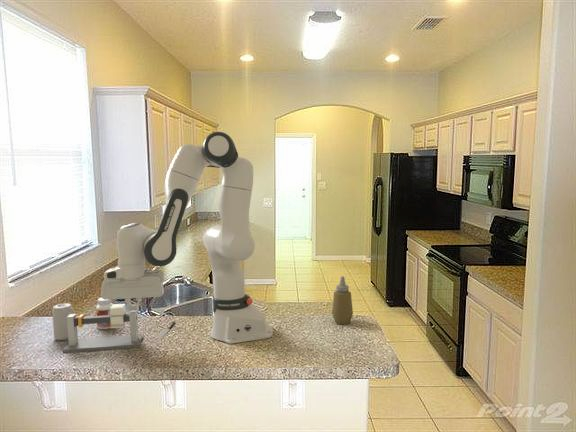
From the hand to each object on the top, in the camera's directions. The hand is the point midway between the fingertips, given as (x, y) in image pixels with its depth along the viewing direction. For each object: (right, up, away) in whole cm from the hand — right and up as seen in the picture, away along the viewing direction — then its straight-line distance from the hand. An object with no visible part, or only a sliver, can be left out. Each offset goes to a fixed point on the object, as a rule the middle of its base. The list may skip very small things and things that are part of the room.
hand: (133, 310), depth 150 cm
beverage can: (-27, -12, +6) cm, 30 cm away
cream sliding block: (-5, -5, 0) cm, 7 cm away
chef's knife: (+7, -11, +10) cm, 17 cm away
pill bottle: (-17, -10, +17) cm, 26 cm away
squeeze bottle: (+74, -9, +18) cm, 77 cm away
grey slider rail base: (-10, -12, 0) cm, 15 cm away
